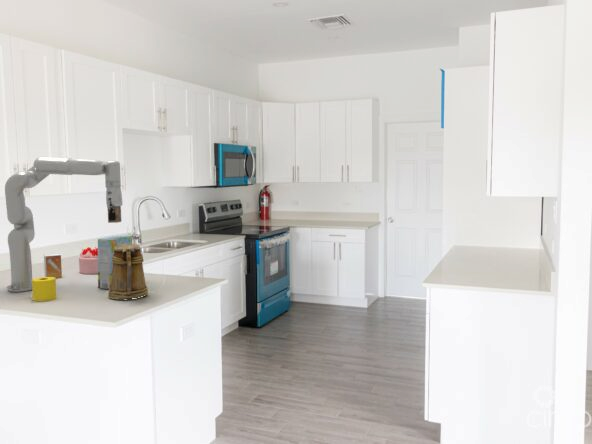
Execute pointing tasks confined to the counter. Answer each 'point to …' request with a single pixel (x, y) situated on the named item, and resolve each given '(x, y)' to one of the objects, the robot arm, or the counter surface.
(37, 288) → the tape roll
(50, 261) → the small box
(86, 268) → the cake
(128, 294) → the tankard
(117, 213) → the walnut block
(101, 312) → the counter surface
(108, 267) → the snack box
